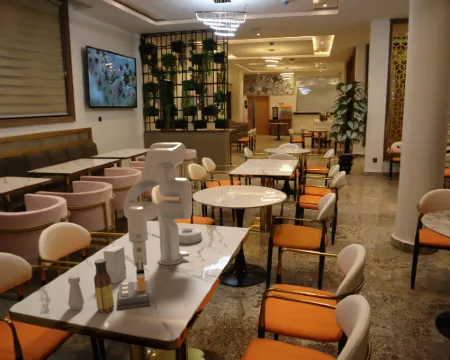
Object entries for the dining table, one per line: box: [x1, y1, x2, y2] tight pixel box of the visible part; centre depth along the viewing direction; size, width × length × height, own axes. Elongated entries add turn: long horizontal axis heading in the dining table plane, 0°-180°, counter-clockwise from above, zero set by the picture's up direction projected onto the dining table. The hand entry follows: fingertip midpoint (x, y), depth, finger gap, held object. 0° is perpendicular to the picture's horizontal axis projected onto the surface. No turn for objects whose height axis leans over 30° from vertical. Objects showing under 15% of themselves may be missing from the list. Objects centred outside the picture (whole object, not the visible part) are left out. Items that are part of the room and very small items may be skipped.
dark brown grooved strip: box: [117, 300, 151, 310], centre depth 152 cm, size 12×2×1 cm, turn 103°
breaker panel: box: [118, 279, 151, 305], centre depth 161 cm, size 12×15×4 cm
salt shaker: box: [67, 274, 85, 312], centre depth 151 cm, size 6×6×13 cm
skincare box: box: [103, 245, 127, 285], centre depth 176 cm, size 8×6×15 cm
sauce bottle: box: [93, 258, 115, 313], centre depth 149 cm, size 7×6×20 cm
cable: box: [178, 226, 203, 245], centre depth 231 cm, size 18×18×6 cm
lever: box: [136, 273, 146, 292], centre depth 158 cm, size 3×2×7 cm
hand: (140, 278), depth 162 cm, fingers closed
